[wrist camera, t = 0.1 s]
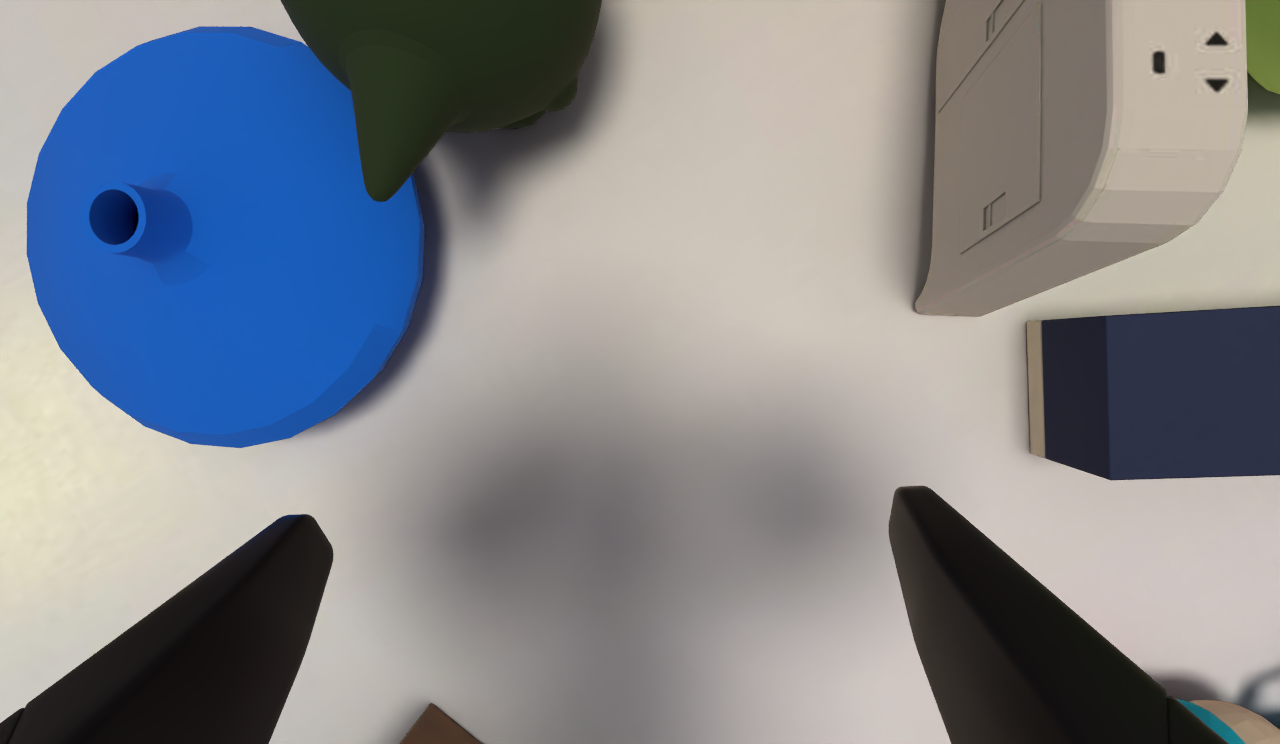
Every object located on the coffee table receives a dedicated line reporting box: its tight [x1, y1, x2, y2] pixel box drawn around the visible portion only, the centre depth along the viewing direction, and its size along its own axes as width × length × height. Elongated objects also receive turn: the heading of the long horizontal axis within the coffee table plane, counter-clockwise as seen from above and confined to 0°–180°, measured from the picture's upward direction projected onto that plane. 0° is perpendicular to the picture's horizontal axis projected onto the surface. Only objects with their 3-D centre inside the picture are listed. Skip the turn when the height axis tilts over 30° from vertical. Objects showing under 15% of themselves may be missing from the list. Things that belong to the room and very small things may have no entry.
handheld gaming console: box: [915, 0, 1248, 316], centre depth 18 cm, size 11×3×15 cm
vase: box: [27, 27, 425, 448], centre depth 22 cm, size 16×16×7 cm
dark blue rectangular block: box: [1027, 306, 1280, 480], centre depth 20 cm, size 11×5×4 cm, turn 93°
